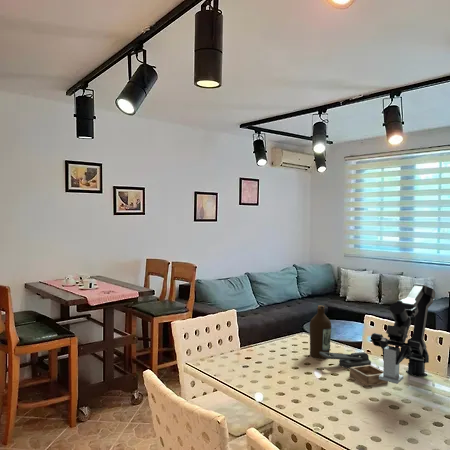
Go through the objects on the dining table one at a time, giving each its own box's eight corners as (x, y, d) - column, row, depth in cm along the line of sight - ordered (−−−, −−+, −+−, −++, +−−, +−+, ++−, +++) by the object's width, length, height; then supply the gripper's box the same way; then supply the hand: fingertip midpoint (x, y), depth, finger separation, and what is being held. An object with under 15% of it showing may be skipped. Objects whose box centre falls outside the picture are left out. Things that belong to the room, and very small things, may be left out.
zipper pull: (317, 351, 197) (362, 346, 205) (316, 365, 197) (361, 360, 205) (328, 357, 188) (374, 352, 197) (327, 371, 188) (373, 366, 197)
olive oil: (304, 355, 210) (305, 305, 210) (316, 351, 217) (317, 302, 217) (322, 361, 202) (324, 309, 202) (334, 356, 210) (336, 306, 209)
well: (369, 373, 188) (370, 364, 188) (387, 382, 177) (388, 373, 177) (349, 376, 184) (349, 367, 184) (366, 385, 173) (367, 376, 173)
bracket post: (385, 373, 168) (386, 344, 168) (403, 378, 164) (404, 348, 163) (378, 378, 163) (379, 348, 163) (397, 384, 158) (398, 352, 158)
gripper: (372, 313, 172) (361, 346, 164) (421, 321, 160) (411, 357, 152) (379, 328, 178) (368, 361, 170) (426, 337, 166) (417, 373, 158)
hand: (390, 362), depth 162 cm, fingers closed on bracket post, 4 cm apart
